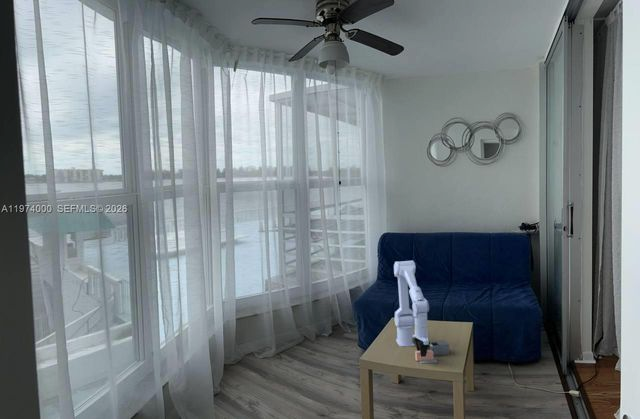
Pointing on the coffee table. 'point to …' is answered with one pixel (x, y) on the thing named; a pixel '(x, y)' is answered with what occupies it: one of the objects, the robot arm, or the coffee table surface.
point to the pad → (429, 361)
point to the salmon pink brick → (428, 356)
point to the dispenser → (439, 347)
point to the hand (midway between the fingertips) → (421, 354)
